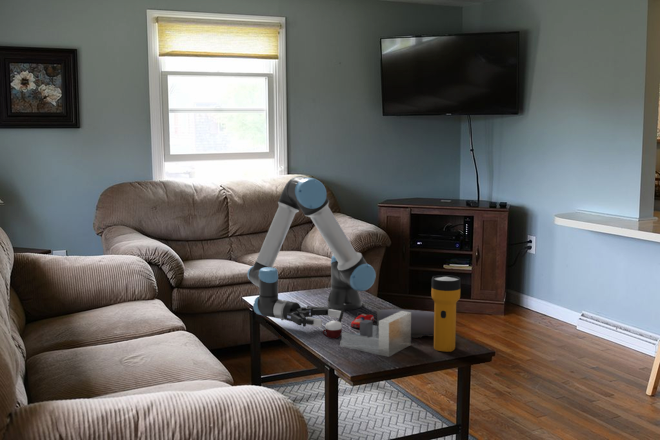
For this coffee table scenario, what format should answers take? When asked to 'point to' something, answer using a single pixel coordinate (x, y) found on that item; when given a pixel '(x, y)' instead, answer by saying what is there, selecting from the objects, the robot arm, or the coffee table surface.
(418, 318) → the bluetooth speaker
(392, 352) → the labeled panel enclosure
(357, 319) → the race car
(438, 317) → the flashlight
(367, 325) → the tall grey box
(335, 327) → the cocoa
